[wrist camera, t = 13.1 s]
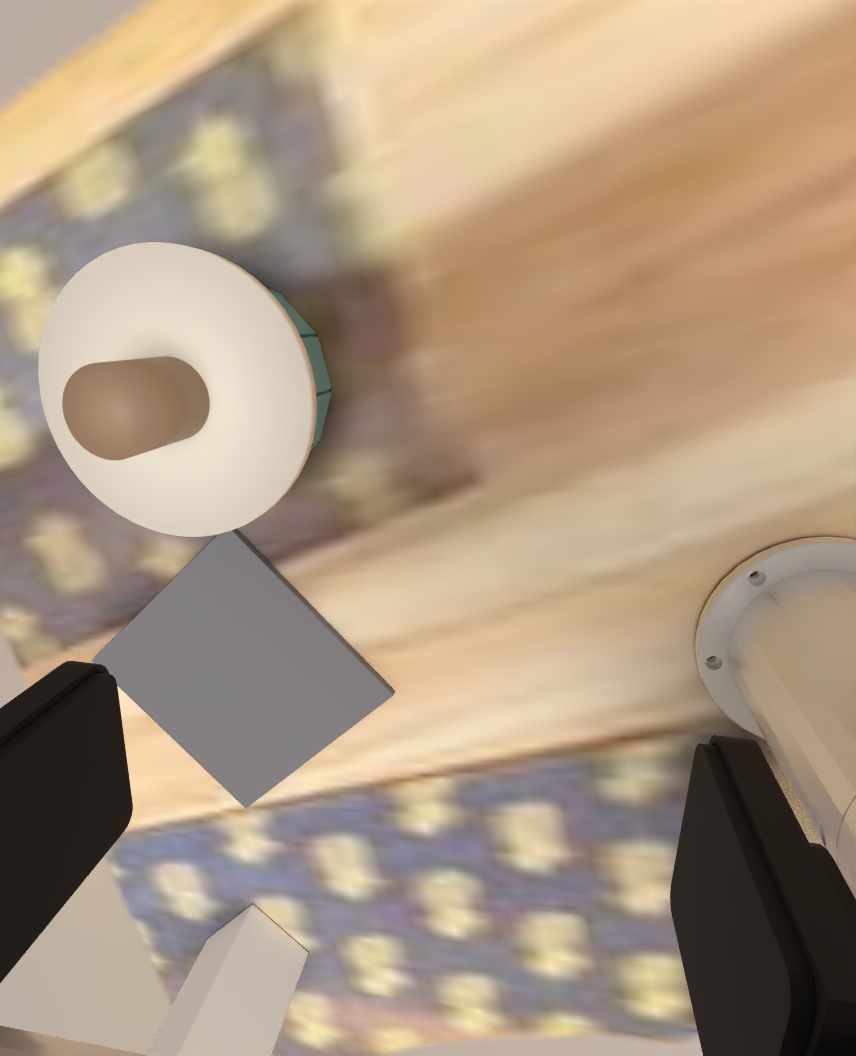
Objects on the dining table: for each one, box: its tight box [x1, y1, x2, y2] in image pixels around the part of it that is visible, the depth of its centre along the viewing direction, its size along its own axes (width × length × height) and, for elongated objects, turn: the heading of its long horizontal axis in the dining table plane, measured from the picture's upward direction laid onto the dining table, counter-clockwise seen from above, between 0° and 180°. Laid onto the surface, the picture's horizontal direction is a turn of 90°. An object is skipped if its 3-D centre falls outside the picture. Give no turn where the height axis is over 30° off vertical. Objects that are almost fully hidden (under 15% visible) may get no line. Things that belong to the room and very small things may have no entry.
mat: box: [92, 529, 395, 808], centre depth 44 cm, size 15×15×1 cm
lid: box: [38, 242, 317, 537], centre depth 30 cm, size 14×14×6 cm
